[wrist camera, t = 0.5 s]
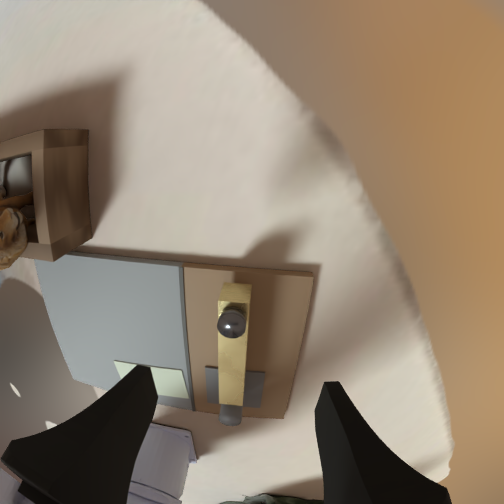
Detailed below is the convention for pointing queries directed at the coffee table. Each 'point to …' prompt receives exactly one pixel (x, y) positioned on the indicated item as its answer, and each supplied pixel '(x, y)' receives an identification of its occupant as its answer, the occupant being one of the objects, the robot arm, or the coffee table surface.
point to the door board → (175, 327)
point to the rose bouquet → (274, 500)
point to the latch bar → (233, 341)
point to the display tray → (55, 190)
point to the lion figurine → (13, 227)
